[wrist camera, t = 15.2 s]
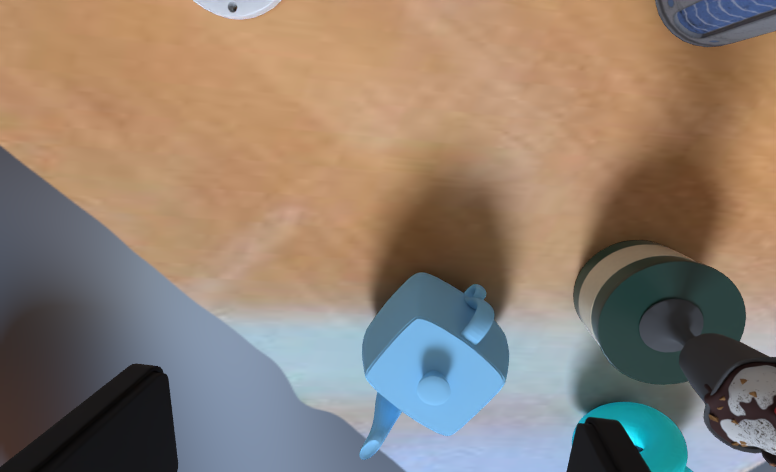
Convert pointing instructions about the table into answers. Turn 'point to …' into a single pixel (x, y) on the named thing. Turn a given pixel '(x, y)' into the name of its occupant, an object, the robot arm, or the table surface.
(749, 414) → the sundae
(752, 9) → the beverage bottle
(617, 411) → the donuts
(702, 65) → the table surface
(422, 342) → the teapot
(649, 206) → the table surface
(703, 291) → the tin
